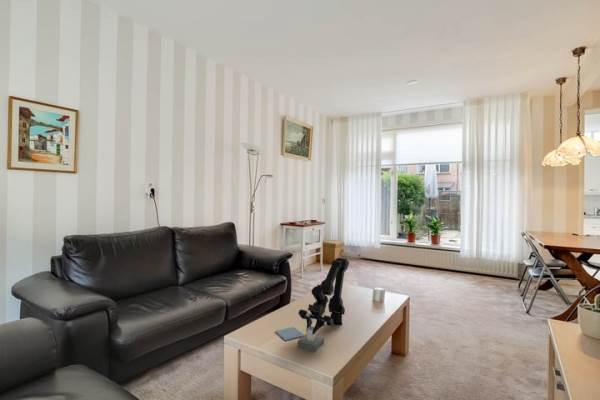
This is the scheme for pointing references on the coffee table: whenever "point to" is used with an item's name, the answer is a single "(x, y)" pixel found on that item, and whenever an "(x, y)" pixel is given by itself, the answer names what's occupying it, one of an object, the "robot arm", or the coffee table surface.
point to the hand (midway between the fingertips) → (309, 333)
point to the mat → (289, 333)
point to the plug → (310, 334)
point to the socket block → (311, 343)
